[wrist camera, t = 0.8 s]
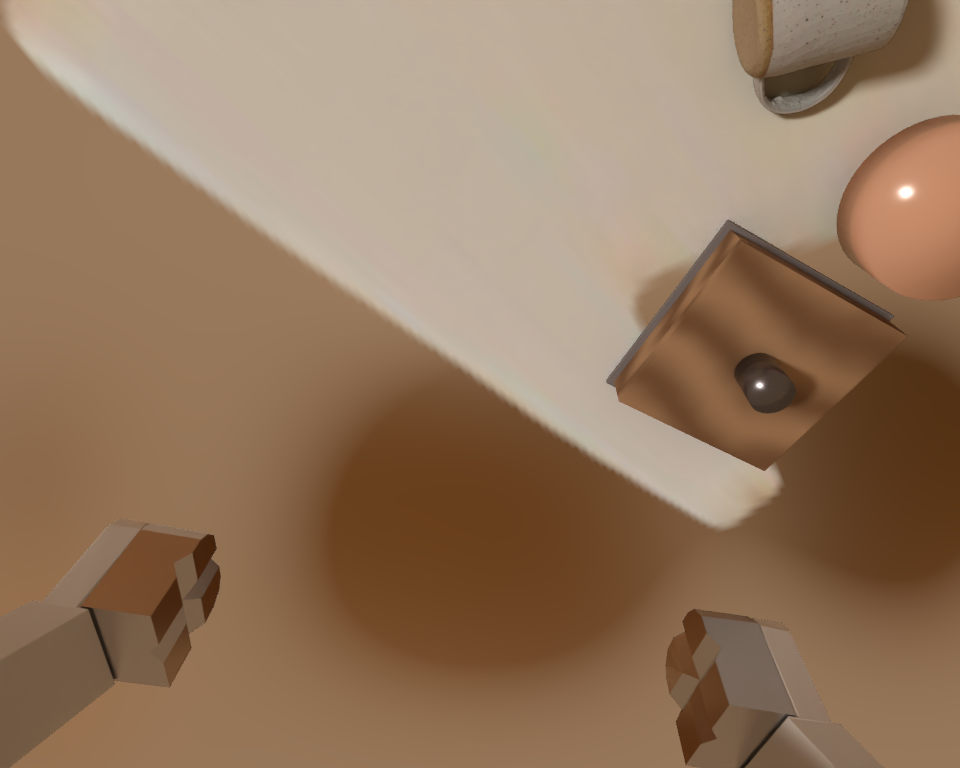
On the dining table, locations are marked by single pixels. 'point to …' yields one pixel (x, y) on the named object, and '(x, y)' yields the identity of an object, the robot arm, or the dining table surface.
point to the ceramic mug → (809, 40)
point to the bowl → (908, 211)
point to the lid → (753, 354)
